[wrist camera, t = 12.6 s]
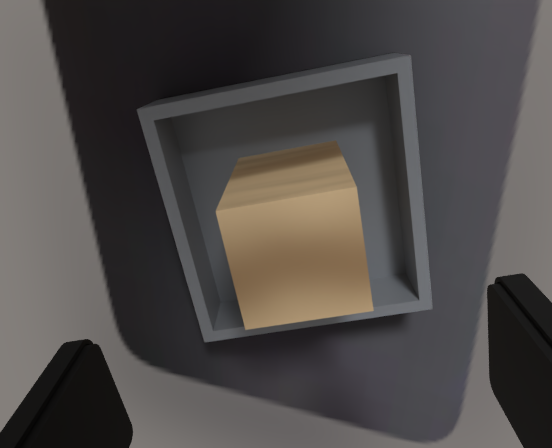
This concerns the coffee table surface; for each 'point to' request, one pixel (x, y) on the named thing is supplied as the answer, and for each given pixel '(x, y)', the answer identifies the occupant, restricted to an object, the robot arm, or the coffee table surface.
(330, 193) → the oak block
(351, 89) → the tray
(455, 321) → the coffee table surface
